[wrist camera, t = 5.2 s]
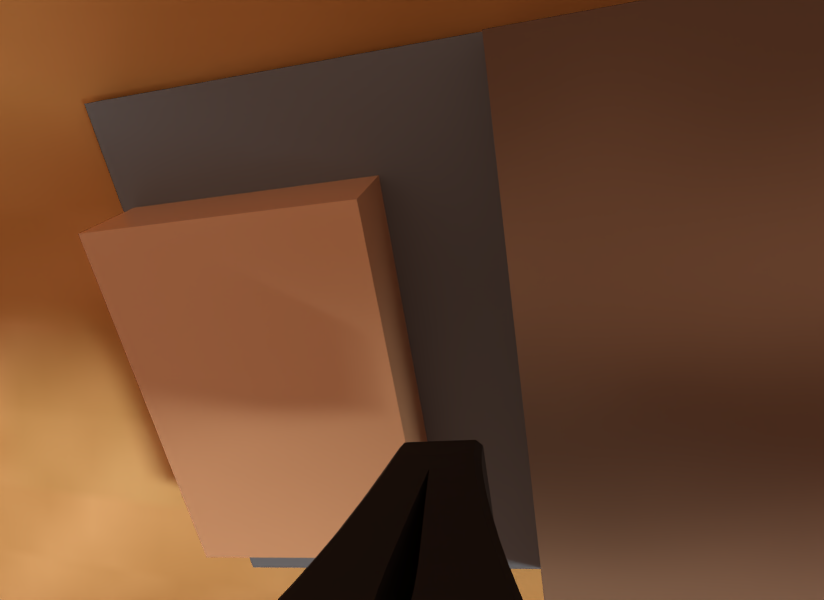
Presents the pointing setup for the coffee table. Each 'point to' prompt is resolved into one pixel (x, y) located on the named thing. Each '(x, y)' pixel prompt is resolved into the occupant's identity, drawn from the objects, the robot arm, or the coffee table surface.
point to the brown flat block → (668, 293)
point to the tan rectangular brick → (265, 355)
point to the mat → (404, 206)
